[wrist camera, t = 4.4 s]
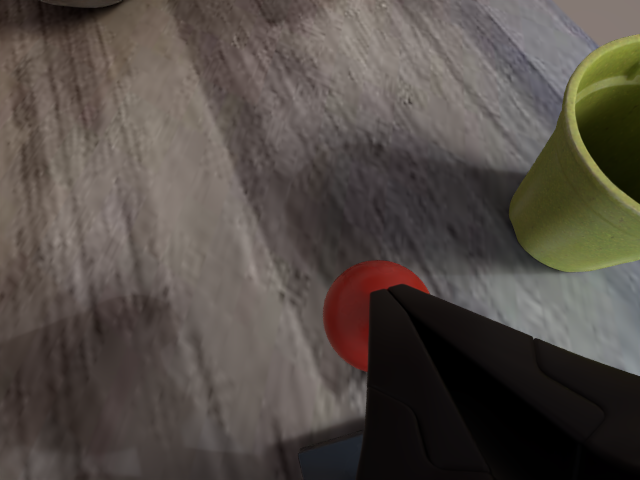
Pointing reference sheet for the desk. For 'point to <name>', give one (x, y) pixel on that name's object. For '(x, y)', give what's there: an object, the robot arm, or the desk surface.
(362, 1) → the desk surface
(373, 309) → the robot arm
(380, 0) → the desk surface
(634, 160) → the plant pot
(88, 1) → the bowl
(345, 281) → the red-knobbed lever handle
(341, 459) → the dark grey lever stand
